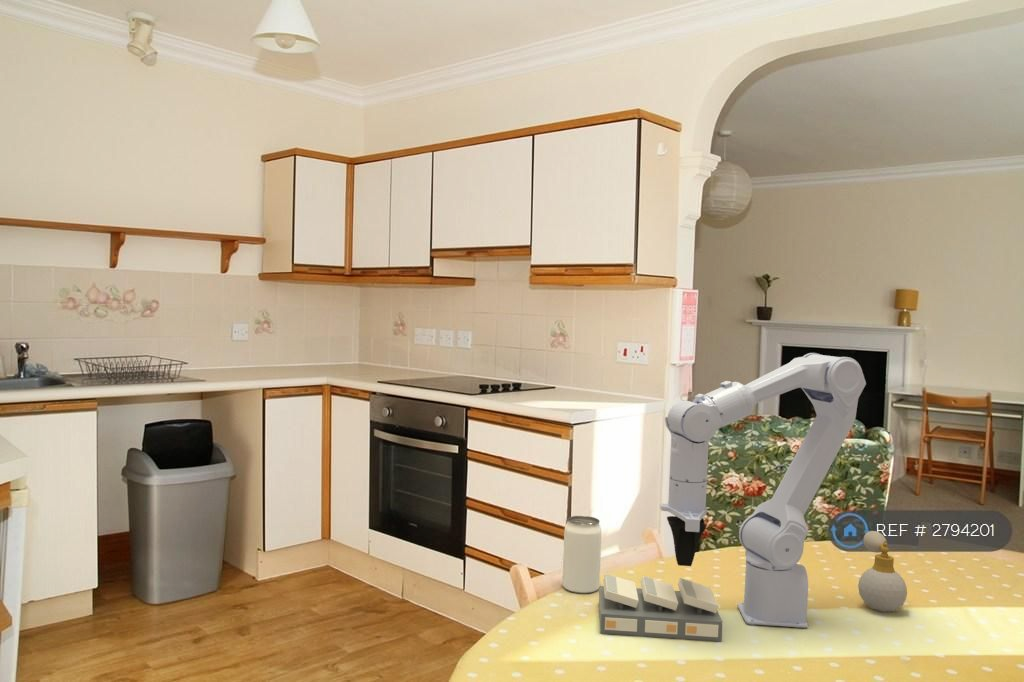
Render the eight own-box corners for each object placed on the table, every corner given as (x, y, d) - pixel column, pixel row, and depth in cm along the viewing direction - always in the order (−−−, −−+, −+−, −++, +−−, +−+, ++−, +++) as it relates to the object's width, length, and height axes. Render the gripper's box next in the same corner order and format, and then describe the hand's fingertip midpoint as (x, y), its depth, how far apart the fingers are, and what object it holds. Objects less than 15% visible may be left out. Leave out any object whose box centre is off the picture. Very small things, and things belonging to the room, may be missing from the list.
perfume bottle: (880, 619, 132) (885, 547, 131) (837, 598, 141) (841, 530, 140) (916, 615, 134) (920, 544, 134) (871, 594, 143) (875, 527, 143)
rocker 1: (632, 589, 132) (635, 581, 132) (636, 607, 124) (638, 600, 124) (603, 580, 132) (605, 572, 132) (604, 598, 124) (607, 590, 124)
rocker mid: (670, 591, 131) (672, 584, 131) (676, 610, 123) (678, 602, 123) (640, 582, 132) (642, 574, 132) (644, 600, 124) (646, 592, 124)
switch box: (709, 610, 133) (710, 588, 133) (721, 642, 121) (723, 617, 121) (598, 603, 134) (599, 581, 134) (600, 634, 122) (601, 609, 122)
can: (597, 596, 138) (600, 526, 137) (559, 592, 139) (562, 523, 139) (600, 583, 144) (603, 516, 144) (564, 579, 146) (567, 513, 145)
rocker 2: (707, 594, 131) (710, 586, 131) (716, 613, 123) (718, 605, 123) (677, 584, 131) (680, 577, 131) (684, 603, 123) (686, 595, 123)
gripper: (657, 467, 134) (654, 548, 135) (666, 488, 119) (662, 578, 120) (701, 469, 133) (697, 551, 134) (715, 490, 119) (711, 581, 119)
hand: (684, 564), depth 127 cm, fingers closed
